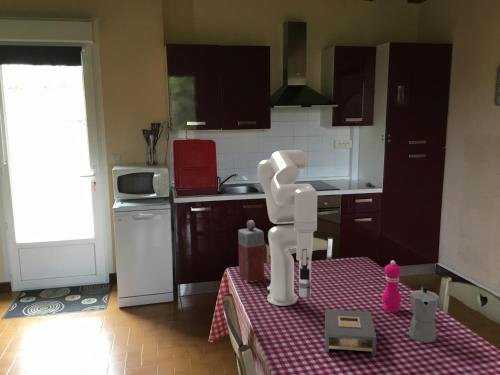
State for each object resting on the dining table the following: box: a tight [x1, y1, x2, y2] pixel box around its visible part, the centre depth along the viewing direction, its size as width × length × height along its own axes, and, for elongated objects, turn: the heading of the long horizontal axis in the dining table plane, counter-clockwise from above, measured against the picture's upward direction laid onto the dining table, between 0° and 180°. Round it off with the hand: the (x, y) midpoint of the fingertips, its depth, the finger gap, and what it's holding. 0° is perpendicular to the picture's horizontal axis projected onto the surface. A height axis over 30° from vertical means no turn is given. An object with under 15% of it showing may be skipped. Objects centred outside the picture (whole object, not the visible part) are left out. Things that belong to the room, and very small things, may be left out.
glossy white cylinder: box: [298, 258, 312, 298], centre depth 152 cm, size 4×4×14 cm
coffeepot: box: [407, 285, 440, 344], centre depth 154 cm, size 15×9×18 cm, turn 163°
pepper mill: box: [381, 260, 402, 314], centre depth 173 cm, size 7×7×20 cm
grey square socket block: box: [324, 308, 377, 357], centre depth 152 cm, size 18×16×7 cm
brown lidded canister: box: [237, 219, 268, 282], centre depth 207 cm, size 9×11×28 cm
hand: (304, 276), depth 152 cm, fingers closed on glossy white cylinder, 4 cm apart
